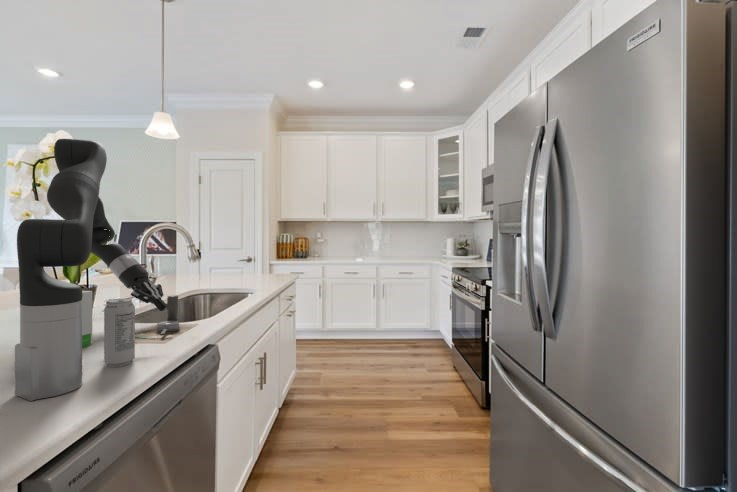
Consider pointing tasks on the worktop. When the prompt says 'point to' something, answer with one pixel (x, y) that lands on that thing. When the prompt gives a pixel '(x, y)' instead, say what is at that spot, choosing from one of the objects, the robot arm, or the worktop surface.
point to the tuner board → (154, 336)
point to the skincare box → (86, 318)
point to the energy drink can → (119, 332)
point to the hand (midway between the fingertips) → (164, 309)
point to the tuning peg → (170, 316)
